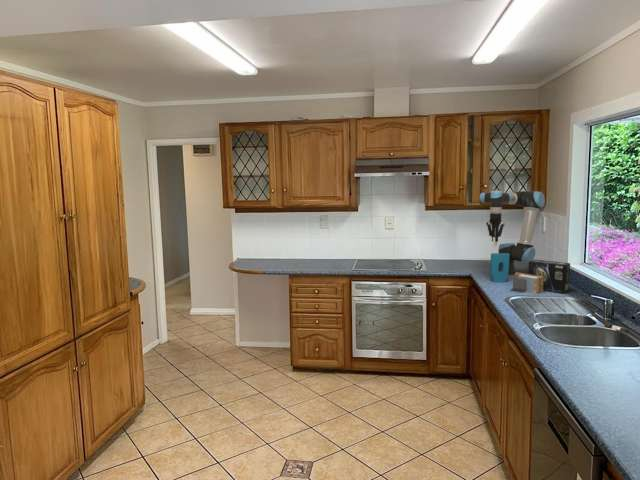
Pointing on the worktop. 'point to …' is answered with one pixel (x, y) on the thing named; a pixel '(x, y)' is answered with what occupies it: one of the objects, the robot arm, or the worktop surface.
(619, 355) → the worktop surface
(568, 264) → the box
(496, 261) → the block
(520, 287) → the bookend
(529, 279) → the book
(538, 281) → the wooden stepped piece
